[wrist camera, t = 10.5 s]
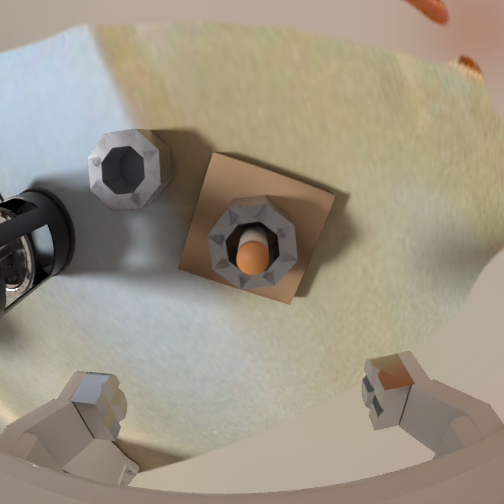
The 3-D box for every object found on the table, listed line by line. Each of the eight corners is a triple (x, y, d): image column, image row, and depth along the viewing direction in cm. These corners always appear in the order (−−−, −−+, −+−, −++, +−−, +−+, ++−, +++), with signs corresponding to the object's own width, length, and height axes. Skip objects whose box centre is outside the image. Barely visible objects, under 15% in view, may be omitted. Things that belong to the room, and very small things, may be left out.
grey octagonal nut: (259, 283, 27) (259, 302, 24) (201, 240, 26) (192, 255, 22) (306, 228, 25) (314, 241, 22) (246, 180, 24) (244, 186, 21)
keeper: (288, 296, 29) (296, 344, 22) (182, 262, 28) (158, 302, 21) (331, 192, 26) (357, 212, 19) (215, 151, 25) (198, 155, 18)
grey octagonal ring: (174, 199, 26) (162, 207, 23) (110, 203, 26) (92, 211, 23) (170, 127, 24) (157, 126, 21) (106, 135, 24) (86, 136, 21)
